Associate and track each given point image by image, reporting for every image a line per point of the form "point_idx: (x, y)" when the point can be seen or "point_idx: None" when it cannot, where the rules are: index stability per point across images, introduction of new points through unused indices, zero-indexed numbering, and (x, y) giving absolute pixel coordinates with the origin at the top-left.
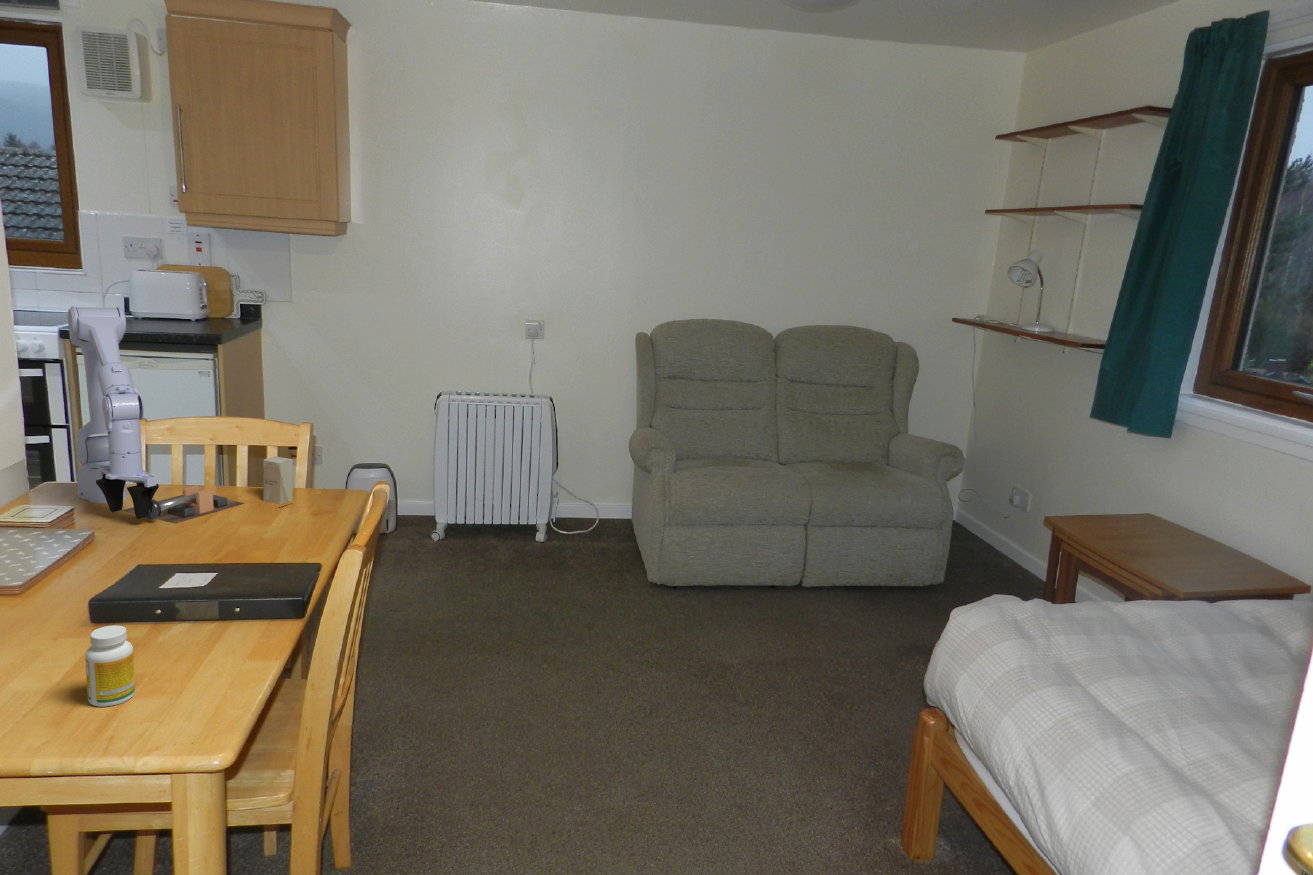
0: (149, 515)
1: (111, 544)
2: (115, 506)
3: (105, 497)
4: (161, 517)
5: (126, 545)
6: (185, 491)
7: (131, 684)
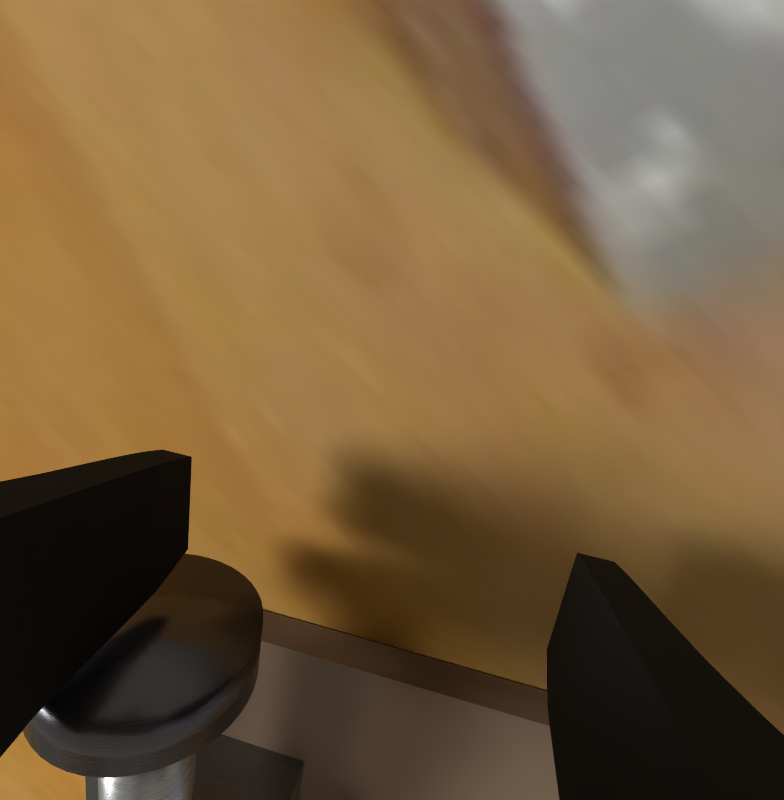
0: (181, 577)
1: (165, 35)
2: (576, 631)
3: (744, 704)
4: (277, 682)
5: (51, 82)
6: None
7: None
